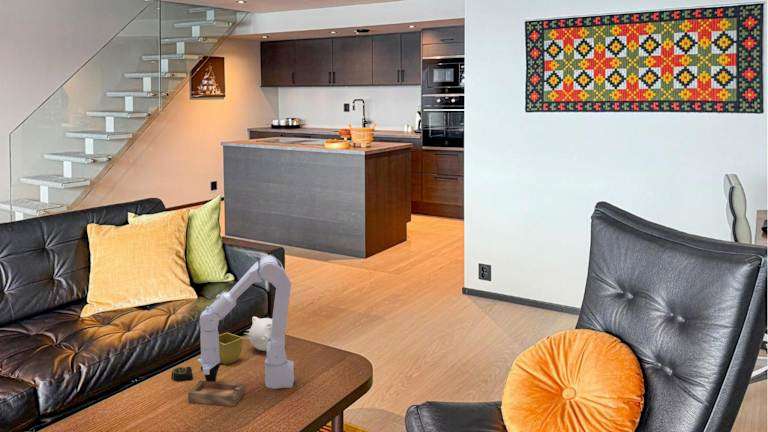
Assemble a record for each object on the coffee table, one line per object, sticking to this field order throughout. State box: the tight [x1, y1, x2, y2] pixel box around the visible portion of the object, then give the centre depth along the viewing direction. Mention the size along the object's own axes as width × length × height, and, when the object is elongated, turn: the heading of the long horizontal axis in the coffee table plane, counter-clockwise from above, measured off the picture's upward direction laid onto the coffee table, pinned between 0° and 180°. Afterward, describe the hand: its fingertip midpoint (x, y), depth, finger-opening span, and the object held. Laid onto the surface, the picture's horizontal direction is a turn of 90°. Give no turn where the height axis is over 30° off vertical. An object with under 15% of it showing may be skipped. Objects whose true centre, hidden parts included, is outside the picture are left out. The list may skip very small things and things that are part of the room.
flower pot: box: [219, 332, 244, 366], centre depth 242 cm, size 9×9×9 cm
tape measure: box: [171, 366, 194, 382], centre depth 227 cm, size 7×7×4 cm
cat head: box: [243, 316, 272, 352], centre depth 253 cm, size 15×13×12 cm
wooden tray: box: [187, 380, 246, 407], centre depth 213 cm, size 15×9×4 cm, turn 82°
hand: (211, 386), depth 219 cm, fingers closed
